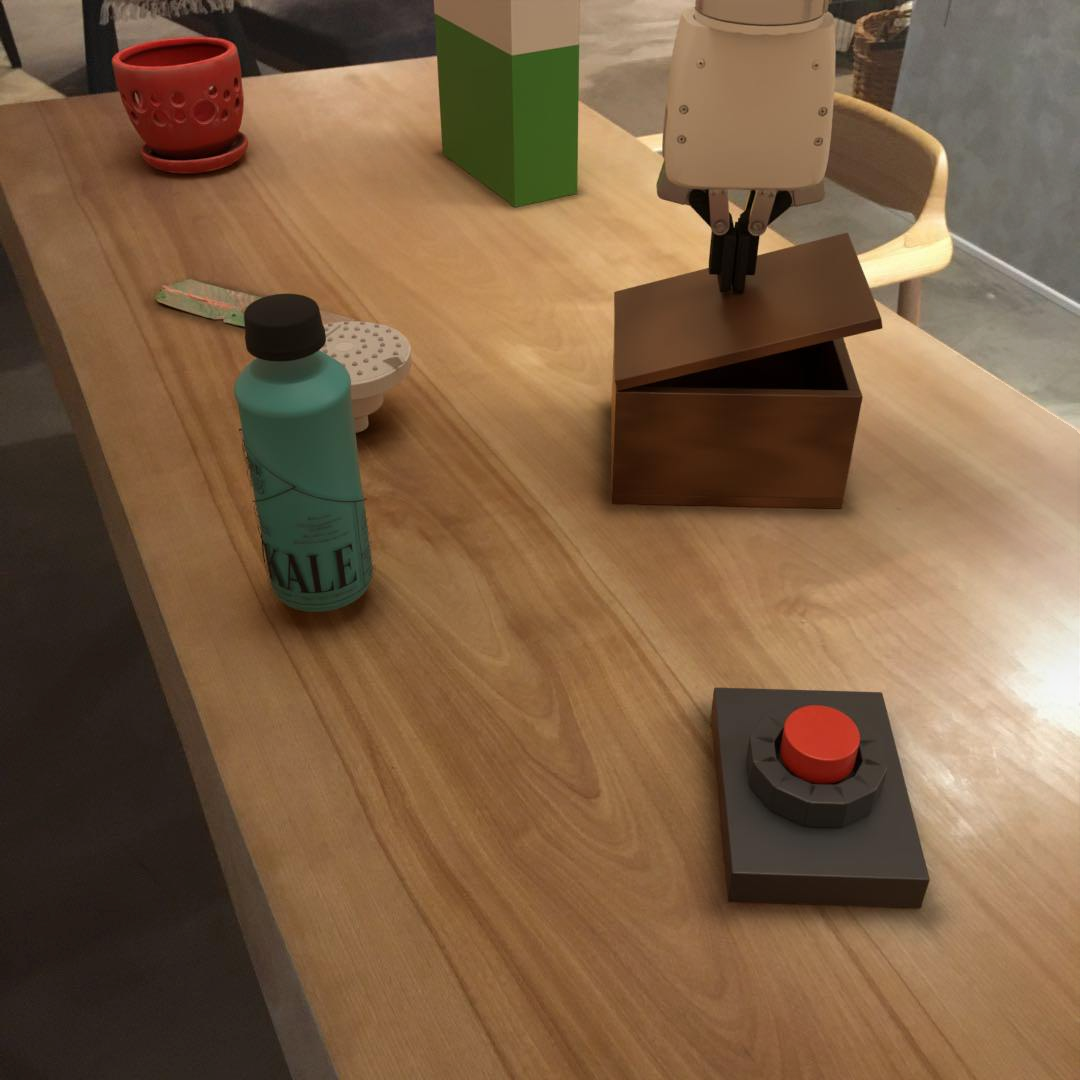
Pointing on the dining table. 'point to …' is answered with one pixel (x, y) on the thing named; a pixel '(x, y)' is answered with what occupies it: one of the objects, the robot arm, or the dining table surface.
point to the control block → (813, 808)
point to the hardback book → (511, 93)
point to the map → (218, 302)
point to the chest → (740, 433)
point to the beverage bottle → (303, 457)
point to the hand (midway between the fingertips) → (730, 283)
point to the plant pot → (184, 102)
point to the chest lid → (742, 313)
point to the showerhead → (368, 362)
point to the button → (819, 744)
